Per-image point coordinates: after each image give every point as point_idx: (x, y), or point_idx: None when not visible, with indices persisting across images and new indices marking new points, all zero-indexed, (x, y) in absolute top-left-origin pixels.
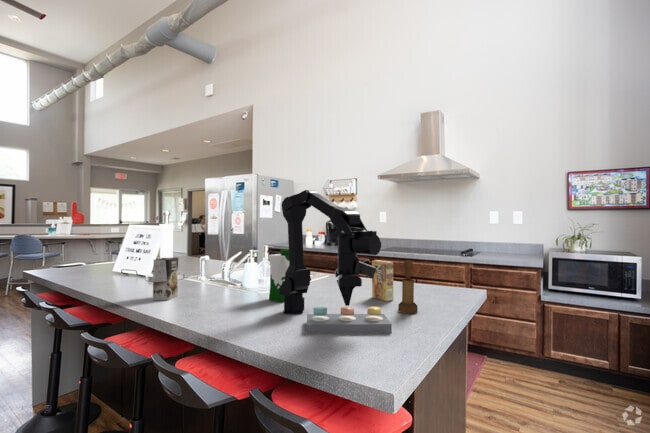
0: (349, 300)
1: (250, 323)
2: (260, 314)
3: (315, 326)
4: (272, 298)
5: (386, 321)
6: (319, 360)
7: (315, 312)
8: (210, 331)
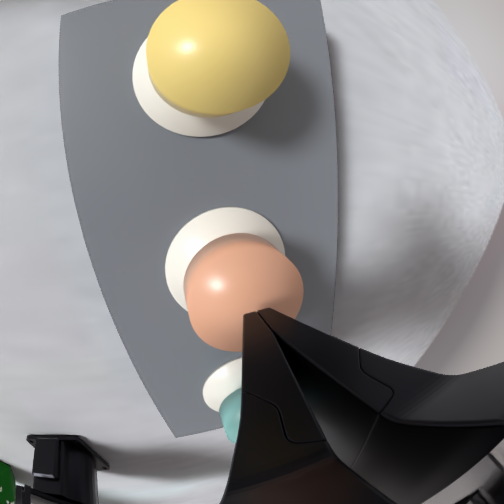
0: (308, 331)
1: (223, 478)
2: (140, 487)
3: None
4: (14, 481)
5: (268, 6)
6: (457, 274)
7: None
8: None
